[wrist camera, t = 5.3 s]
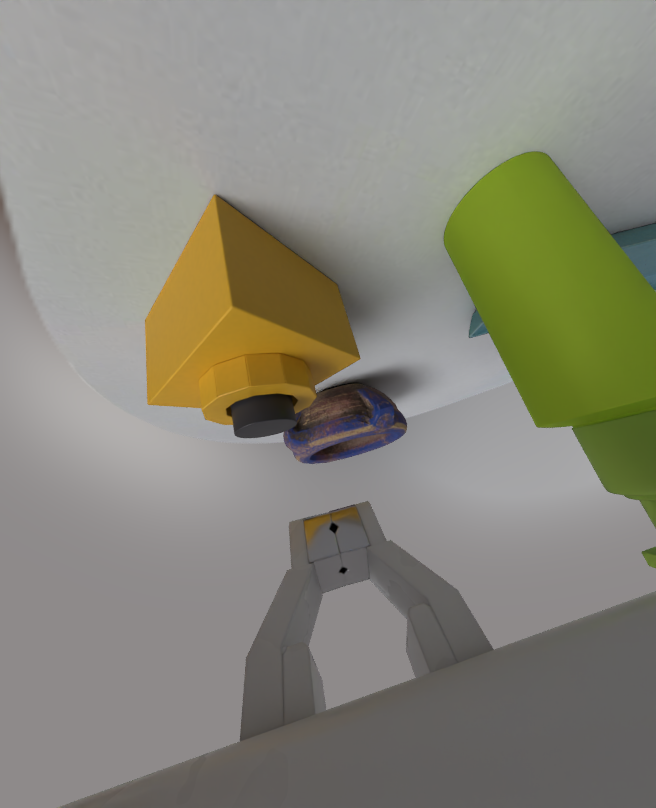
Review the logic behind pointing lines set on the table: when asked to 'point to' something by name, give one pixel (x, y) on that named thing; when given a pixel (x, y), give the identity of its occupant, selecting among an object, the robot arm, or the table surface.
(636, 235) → the rectangular tray
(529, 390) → the soap dispenser
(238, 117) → the table surface
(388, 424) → the bowl
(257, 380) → the yellow push button box
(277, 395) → the black cylinder
